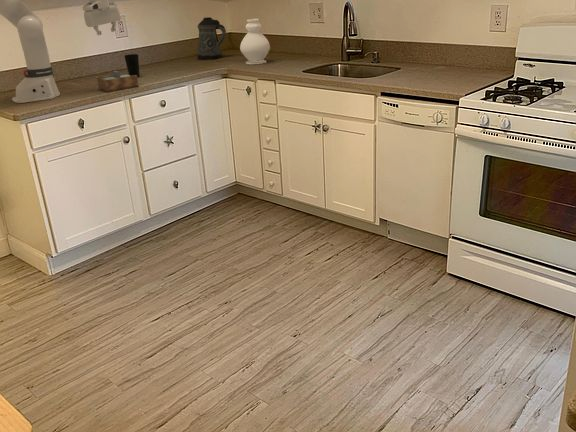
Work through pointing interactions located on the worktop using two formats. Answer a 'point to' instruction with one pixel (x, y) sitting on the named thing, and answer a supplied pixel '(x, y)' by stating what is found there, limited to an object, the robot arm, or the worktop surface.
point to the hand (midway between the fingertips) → (106, 33)
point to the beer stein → (210, 39)
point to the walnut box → (117, 83)
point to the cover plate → (116, 75)
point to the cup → (132, 64)
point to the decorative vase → (254, 43)
